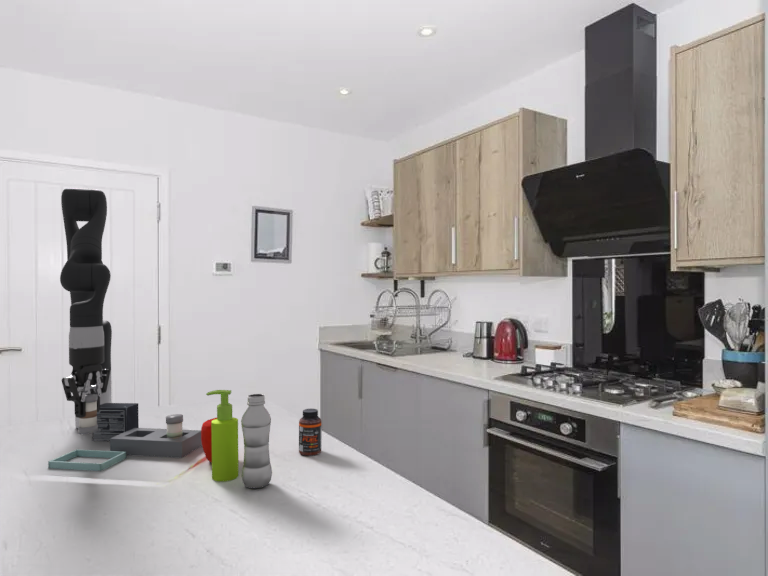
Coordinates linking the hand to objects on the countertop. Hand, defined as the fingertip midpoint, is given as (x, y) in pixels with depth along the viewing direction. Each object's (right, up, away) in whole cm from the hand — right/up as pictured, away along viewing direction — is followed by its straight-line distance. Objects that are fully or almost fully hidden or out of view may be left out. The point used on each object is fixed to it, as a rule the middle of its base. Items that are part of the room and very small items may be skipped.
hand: (87, 414), depth 126 cm
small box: (-4, -13, +21) cm, 25 cm away
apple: (+31, -13, +4) cm, 34 cm away
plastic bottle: (+45, -13, -13) cm, 48 cm away
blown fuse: (0, -4, 0) cm, 4 cm away
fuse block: (+13, -13, +10) cm, 21 cm away
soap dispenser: (+35, -13, -7) cm, 38 cm away
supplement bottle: (+53, -13, +9) cm, 55 cm away
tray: (0, -13, 0) cm, 13 cm away
